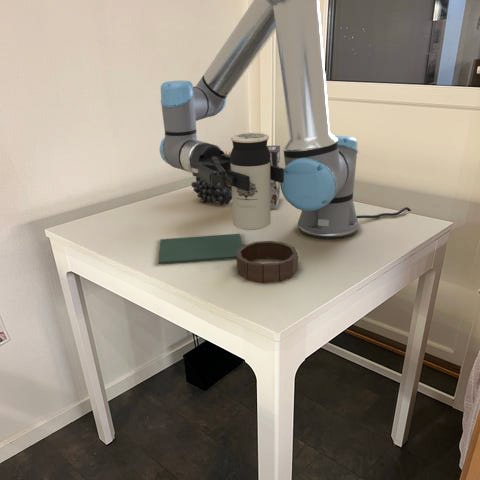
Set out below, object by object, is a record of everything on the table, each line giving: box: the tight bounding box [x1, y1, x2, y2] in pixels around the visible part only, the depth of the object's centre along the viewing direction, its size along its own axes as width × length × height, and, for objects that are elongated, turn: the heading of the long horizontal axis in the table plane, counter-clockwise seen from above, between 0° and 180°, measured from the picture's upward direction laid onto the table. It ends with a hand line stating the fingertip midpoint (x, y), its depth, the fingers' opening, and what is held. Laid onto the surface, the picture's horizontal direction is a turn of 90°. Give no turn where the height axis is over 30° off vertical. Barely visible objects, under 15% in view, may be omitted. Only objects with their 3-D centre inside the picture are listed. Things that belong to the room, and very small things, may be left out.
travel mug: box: [230, 132, 271, 231], centre depth 98 cm, size 8×8×18 cm
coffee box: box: [267, 145, 281, 210], centre depth 140 cm, size 9×6×16 cm
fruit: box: [190, 176, 232, 206], centre depth 146 cm, size 9×8×15 cm
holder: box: [235, 240, 299, 284], centre depth 105 cm, size 13×13×4 cm
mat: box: [158, 233, 243, 265], centre depth 117 cm, size 20×14×1 cm
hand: (265, 179), depth 94 cm, fingers closed on travel mug, 8 cm apart
